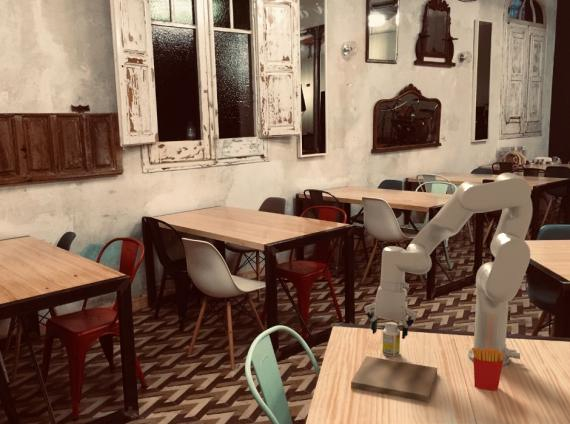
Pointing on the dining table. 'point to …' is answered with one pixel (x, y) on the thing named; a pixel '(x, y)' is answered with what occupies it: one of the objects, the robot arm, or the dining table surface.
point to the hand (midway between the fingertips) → (389, 334)
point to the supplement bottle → (391, 339)
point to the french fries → (487, 368)
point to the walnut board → (395, 378)
